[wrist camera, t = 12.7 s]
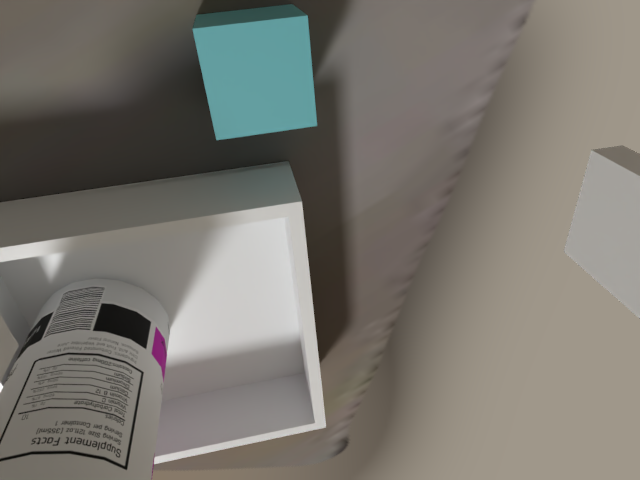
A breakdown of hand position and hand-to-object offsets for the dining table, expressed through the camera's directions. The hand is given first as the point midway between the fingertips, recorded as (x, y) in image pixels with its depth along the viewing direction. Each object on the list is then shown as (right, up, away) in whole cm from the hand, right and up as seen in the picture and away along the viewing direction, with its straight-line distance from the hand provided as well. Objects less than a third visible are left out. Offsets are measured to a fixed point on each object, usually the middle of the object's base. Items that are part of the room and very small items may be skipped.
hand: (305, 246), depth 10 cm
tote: (-11, -5, +23) cm, 26 cm away
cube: (-3, +10, +15) cm, 19 cm away
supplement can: (-14, -5, +22) cm, 27 cm away
